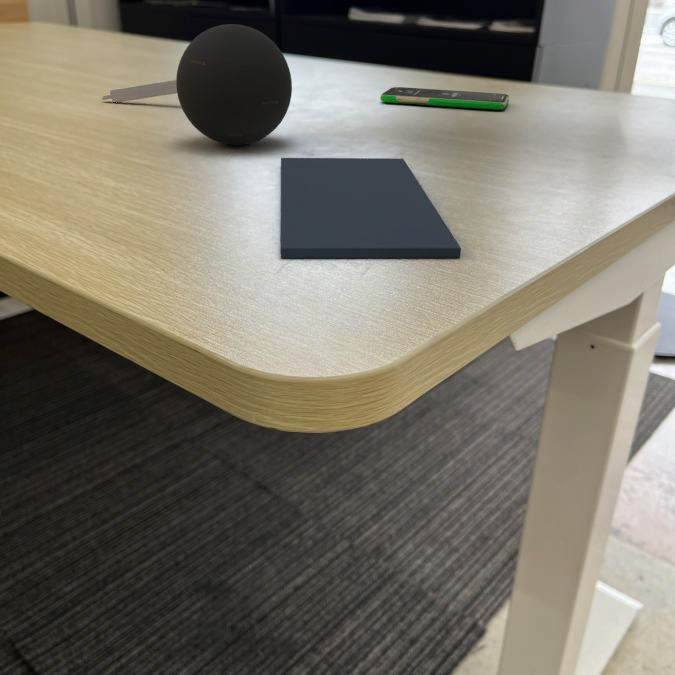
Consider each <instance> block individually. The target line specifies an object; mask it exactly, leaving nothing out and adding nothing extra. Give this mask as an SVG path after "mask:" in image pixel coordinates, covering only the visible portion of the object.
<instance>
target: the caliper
mask: <svg viewBox="0 0 675 675" xmlns="http://www.w3.org/2000/svg"><path fill="white" fill-rule="evenodd" d="M175 94H176V95H177V87H176V79H170V80H163V81H159V82H151V83H150V82H149V83H145V84H139V85H132V86H127V87H119V88H114V89H110V90H109V94H106V95H103V96H102V97H101V100H102V101H105V100H106V101H107V100H111V101H112V103H113V102H116V103H117V102H118V103H124V102H131V101H136V100H141V99H142V100H143V99H149V98H155V97H162V96H168V95H175ZM116 103H115V104H116Z"/></svg>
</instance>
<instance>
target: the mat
mask: <svg viewBox="0 0 675 675" xmlns="http://www.w3.org/2000/svg"><path fill="white" fill-rule="evenodd" d="M279 248H280V258H281V259H407V258H408V259H413V258H414V259H422V258H423V259H427V258H428V259H432V258H433V259H437V258H438V259H439V258H441V259H442V258H443V259H448V258H449V259H450V258H453V259H455V258H457V259H459V258H461V252H462V247H461V246H460V244H459V243H458V241H457V240H456V238H455V236H454V235H453V233H452V232H451V230H450V229H449V227H448V226H447V224H446V223H445V221H444V219H443V218H442V216H441V215H440V213H439V212H438V210H437V209H436V207H435V205H434V204H433V203H432V201H431V199H430V198H429V196H428V195H427V193H426V192H425V190H424V188H423V187H422V185H421V184H420V182H419V181H418V179H417V178H416V176H415V174H414V173H413V171H412V170H411V168H410V167H409V165H408V164H407V162H406V160H405V159H404V158H390V157H389V158H388V157H387V158H385V157H383V158H380V157H379V158H378V157H377V158H372V157H371V158H369V157H367V158H365V157H361V158H360V157H344V158H343V157H281V158H280V246H279Z"/></svg>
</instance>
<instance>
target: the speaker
mask: <svg viewBox="0 0 675 675" xmlns="http://www.w3.org/2000/svg"><path fill="white" fill-rule="evenodd" d="M175 78H176V79H175V80H176V87H177V93H176V95H177V99H178V101H179V105H180V107H181V109H182V112H183V114H184V115H185V117H186V118H187V120H188V121H189V122H190V124H191V125H192V127H194V128H195V129H196V130H197V131H198V132H199V133H201V134H202V135H203V136H205V137H206V138H208V139H210V140H212V141H214V142H217V143H221V144H224V145H229V146H244V145H245V146H246V145H249V144H253V143H256V142H259V141H261V140H263V139H265V138H266V137H268V136H269V135H270V134H271V133H273V132H274V131H275V130H276V129H277V128H278V127H279V126H280V124H281V123H282V121H283V120H284V118H285V116H286V115H287V112H288V111H289V107H290V104H291V100H292V94H293V83H292V75H291V70H290V67H289V64H288V62H287V59H286V58H285V56H284V54H283V52H282V50H280V48H279V46H278V45H277V44H276V43H275V42H274V41H273V40H272V39H271V38H270V37H268V36H267V35H266V34H264V33H263V32H261V31H260V30H257V29H255V28H254V27H250V26H247V25H243V24H237V23H236V24H235V23H229V24H228V23H227V24H220V25H217V26H216V25H215V26H213V27H210V28H208V29H206V30H204V31H203V32H201V33H200V34H198V35H197V36H196V37H195V38H193V39H192V40H191V42H190V43H189V44H188V45H187V47H186V48H185V50H184V52H182V55H181V57H180V59H179V63H178V66H177V70H176V77H175Z"/></svg>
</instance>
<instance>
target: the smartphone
mask: <svg viewBox="0 0 675 675" xmlns="http://www.w3.org/2000/svg"><path fill="white" fill-rule="evenodd" d="M379 99H380V101H381V102H383V103H392V104H407V105H420V106H421V105H423V106H434V107H450V108H465V109H481V110H494V111H498V110H499V111H500V110H503V109H505V108H506V107H507V105H508V104H509V102H510V95H509V94H506V93H497V92H483V91H482V92H481V91H467V90H466V91H465V90H451V89H450V90H449V89H437V88H436V89H435V88H422V87H421V88H419V87H404V86H394V87H390V88H389V89H388V90H386V91H384V92H382V93H381V95H380V97H379Z"/></svg>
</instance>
